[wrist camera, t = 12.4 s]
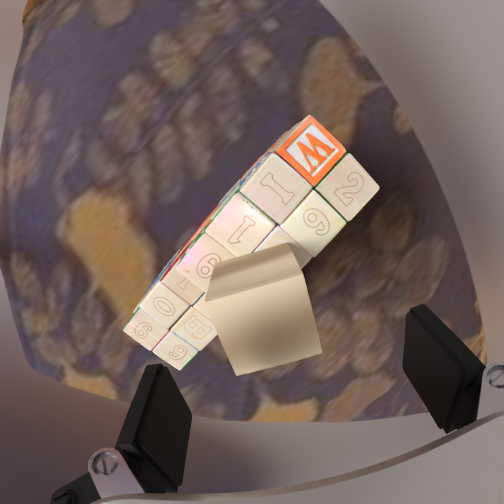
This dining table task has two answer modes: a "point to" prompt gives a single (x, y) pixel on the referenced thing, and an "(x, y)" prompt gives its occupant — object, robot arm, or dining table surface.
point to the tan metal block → (262, 310)
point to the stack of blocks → (253, 233)
